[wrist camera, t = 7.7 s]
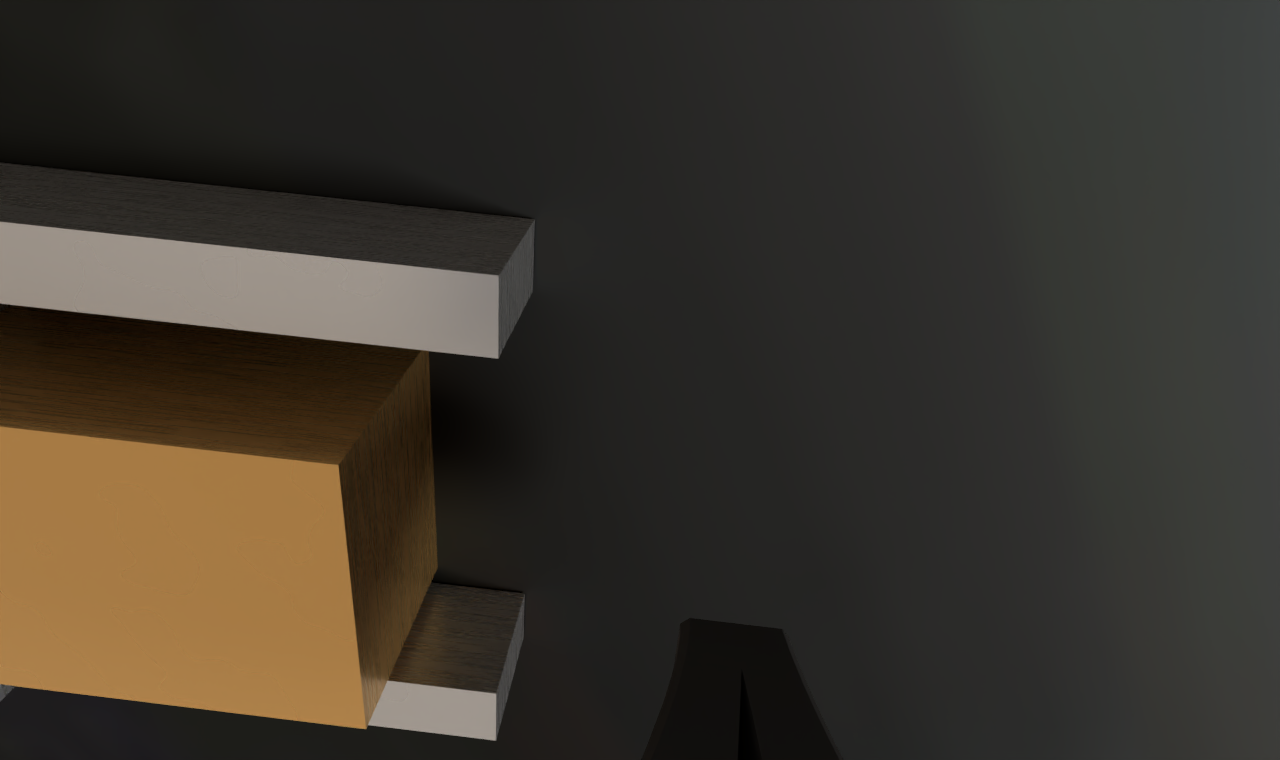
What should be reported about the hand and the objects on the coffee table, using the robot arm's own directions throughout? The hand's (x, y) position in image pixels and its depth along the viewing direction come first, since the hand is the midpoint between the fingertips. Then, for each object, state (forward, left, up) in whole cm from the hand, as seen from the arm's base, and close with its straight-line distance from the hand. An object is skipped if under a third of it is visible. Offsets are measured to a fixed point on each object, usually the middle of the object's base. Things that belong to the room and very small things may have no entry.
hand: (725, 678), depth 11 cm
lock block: (+9, 0, -5) cm, 10 cm away
